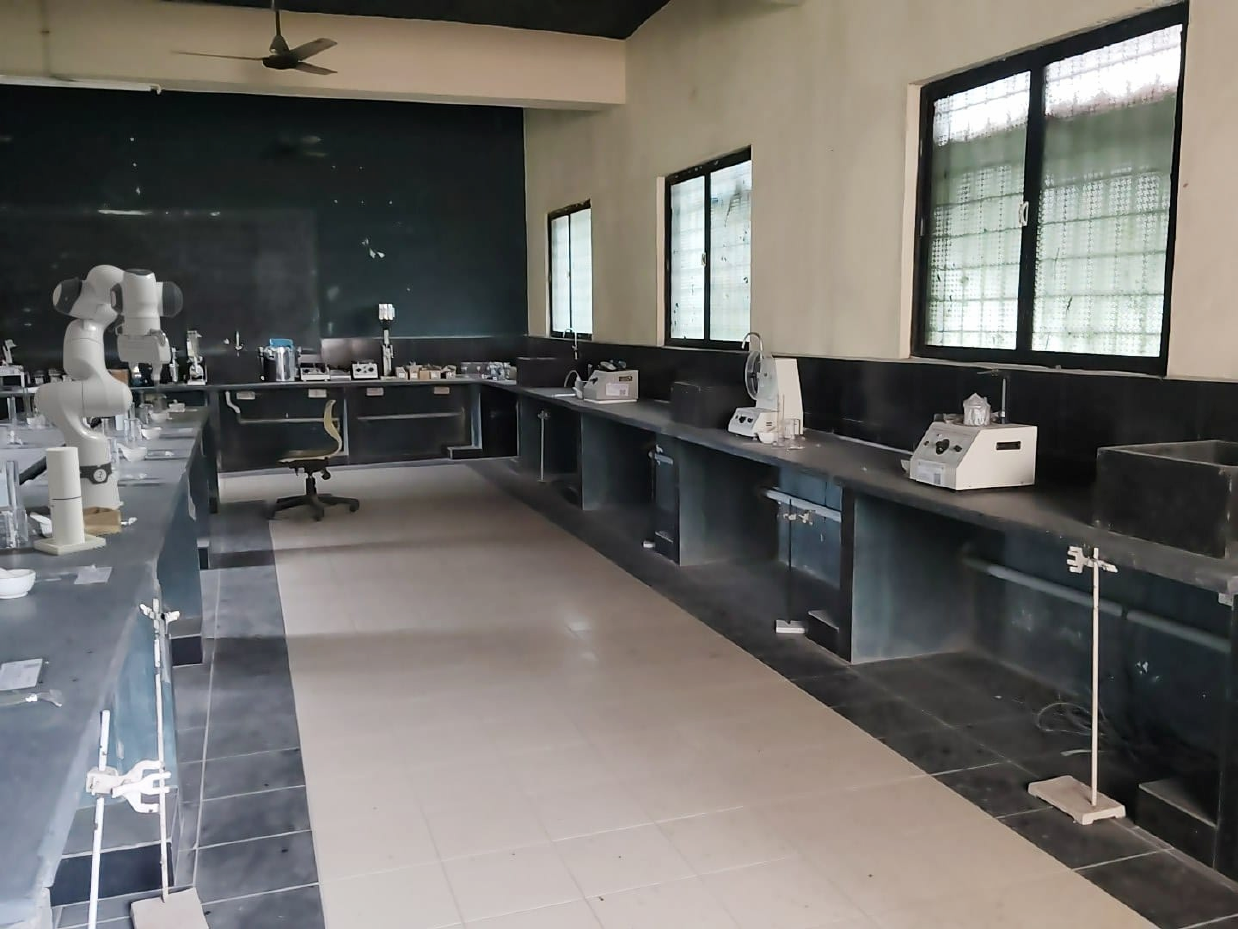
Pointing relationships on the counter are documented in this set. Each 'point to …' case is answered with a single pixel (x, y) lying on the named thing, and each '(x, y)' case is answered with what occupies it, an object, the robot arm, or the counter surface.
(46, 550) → the tray
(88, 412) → the robot arm
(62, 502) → the cylindrical container
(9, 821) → the counter surface
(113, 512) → the holder
